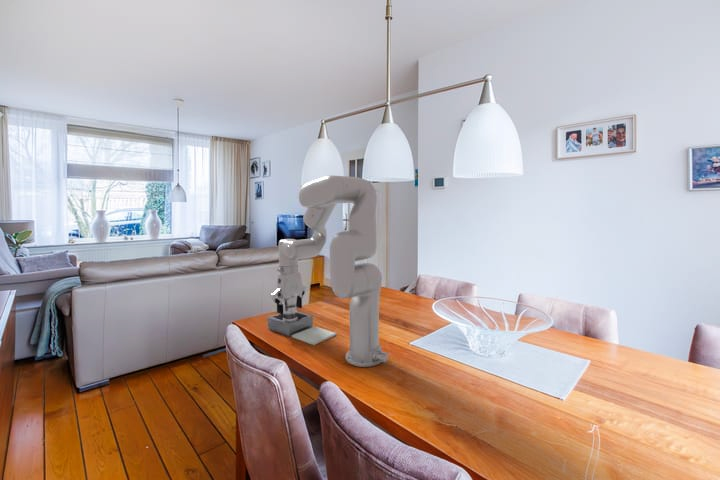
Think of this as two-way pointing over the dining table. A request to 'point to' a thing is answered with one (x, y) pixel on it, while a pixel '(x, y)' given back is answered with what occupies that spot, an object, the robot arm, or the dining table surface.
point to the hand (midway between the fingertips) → (289, 310)
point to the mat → (313, 335)
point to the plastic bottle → (290, 308)
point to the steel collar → (290, 324)
